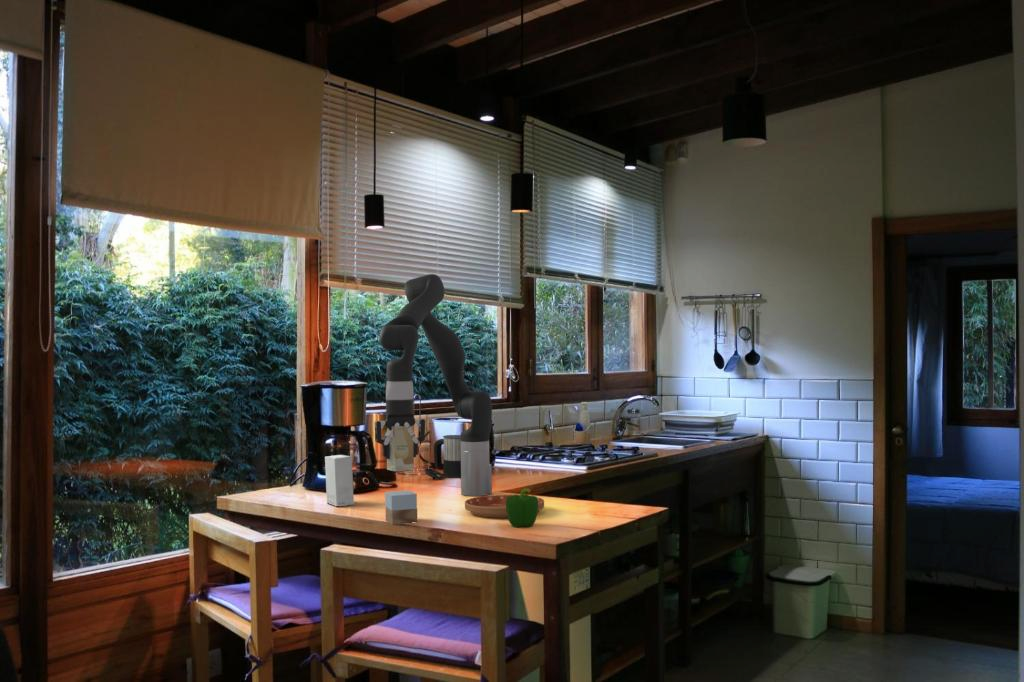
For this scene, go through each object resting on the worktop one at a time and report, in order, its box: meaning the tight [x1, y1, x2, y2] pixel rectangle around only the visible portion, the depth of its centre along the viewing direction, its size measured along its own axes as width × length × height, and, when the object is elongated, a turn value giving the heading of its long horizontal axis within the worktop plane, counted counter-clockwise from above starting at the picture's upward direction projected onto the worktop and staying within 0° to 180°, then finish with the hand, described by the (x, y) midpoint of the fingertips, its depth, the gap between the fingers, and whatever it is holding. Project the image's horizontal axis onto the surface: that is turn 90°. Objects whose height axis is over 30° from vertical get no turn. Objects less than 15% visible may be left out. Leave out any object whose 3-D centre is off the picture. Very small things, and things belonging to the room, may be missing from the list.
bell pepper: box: [506, 488, 539, 528], centre depth 244 cm, size 8×8×10 cm
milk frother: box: [423, 434, 461, 480], centre depth 332 cm, size 14×16×15 cm
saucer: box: [464, 494, 545, 519], centre depth 263 cm, size 23×23×4 cm
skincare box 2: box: [386, 425, 415, 472], centre depth 251 cm, size 6×4×12 cm
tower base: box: [385, 507, 418, 526], centre depth 251 cm, size 7×7×4 cm
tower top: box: [384, 489, 418, 511], centre depth 251 cm, size 7×7×4 cm
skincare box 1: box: [324, 454, 355, 507], centre depth 278 cm, size 8×6×15 cm
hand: (400, 457), depth 251 cm, fingers closed on skincare box 2, 7 cm apart
